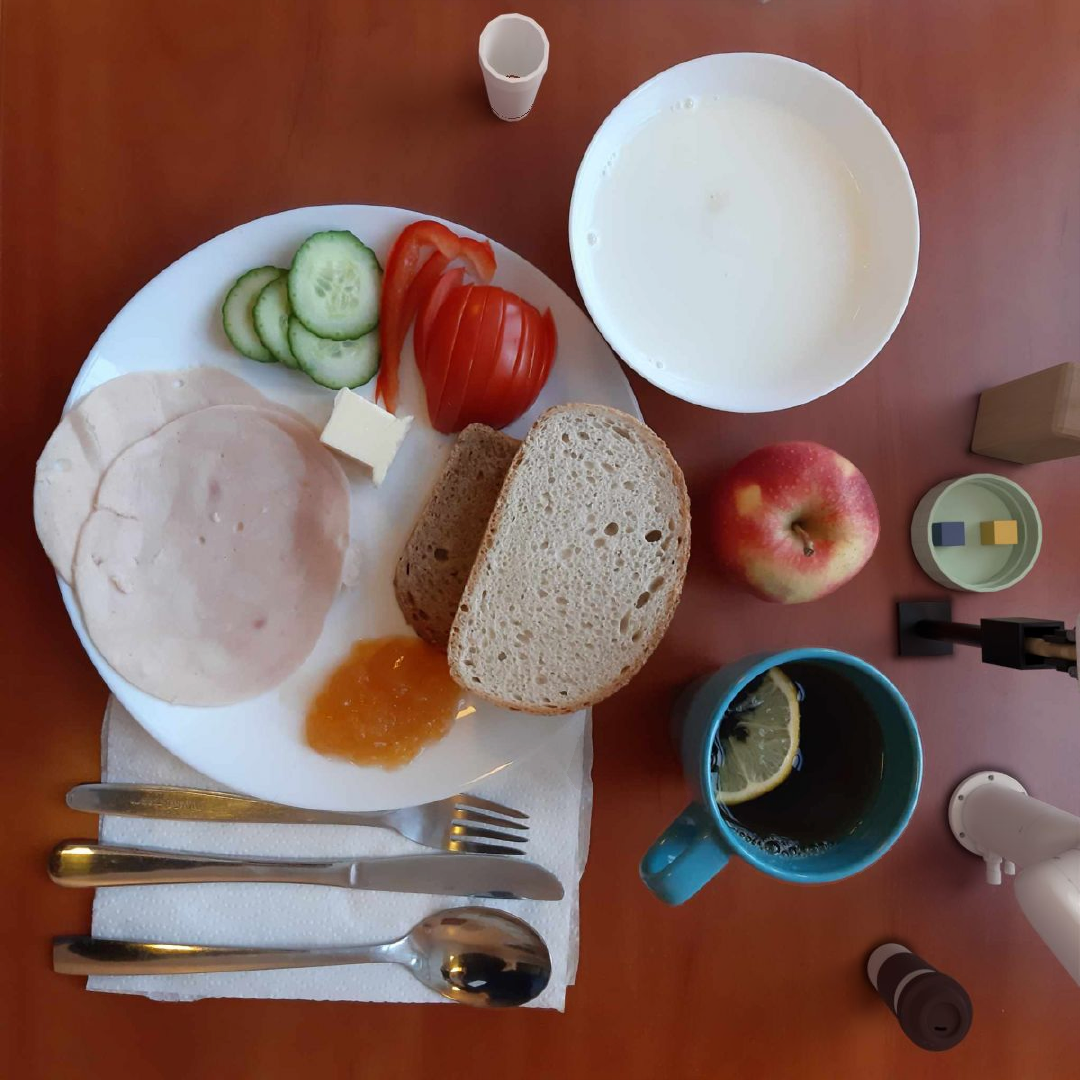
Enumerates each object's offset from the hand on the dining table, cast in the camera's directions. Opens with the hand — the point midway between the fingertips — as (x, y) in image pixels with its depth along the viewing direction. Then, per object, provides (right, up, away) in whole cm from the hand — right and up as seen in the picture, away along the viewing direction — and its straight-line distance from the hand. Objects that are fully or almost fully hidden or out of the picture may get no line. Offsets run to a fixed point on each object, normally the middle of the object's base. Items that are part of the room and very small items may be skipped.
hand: (1055, 649), depth 99 cm
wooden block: (+11, +30, +32) cm, 45 cm away
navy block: (+1, +14, +30) cm, 33 cm away
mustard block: (+9, +14, +30) cm, 34 cm away
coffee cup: (-8, -51, +28) cm, 59 cm away
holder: (-2, -1, +30) cm, 30 cm away
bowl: (+5, +14, +31) cm, 34 cm away
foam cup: (-64, +78, +28) cm, 105 cm away
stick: (-1, 0, +9) cm, 9 cm away
